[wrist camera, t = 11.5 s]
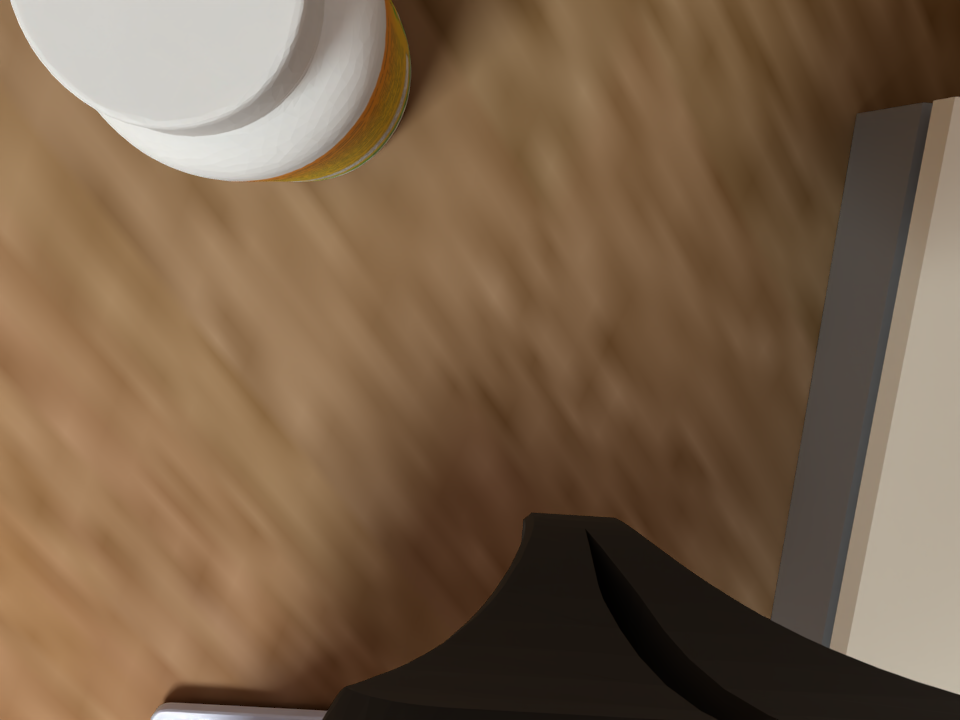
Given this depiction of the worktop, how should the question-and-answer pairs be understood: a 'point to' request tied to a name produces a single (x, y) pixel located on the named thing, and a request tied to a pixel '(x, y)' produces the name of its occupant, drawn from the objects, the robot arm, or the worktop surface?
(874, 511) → the panel
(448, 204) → the worktop surface
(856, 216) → the cable duct
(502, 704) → the robot arm
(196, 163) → the supplement bottle
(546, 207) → the worktop surface
